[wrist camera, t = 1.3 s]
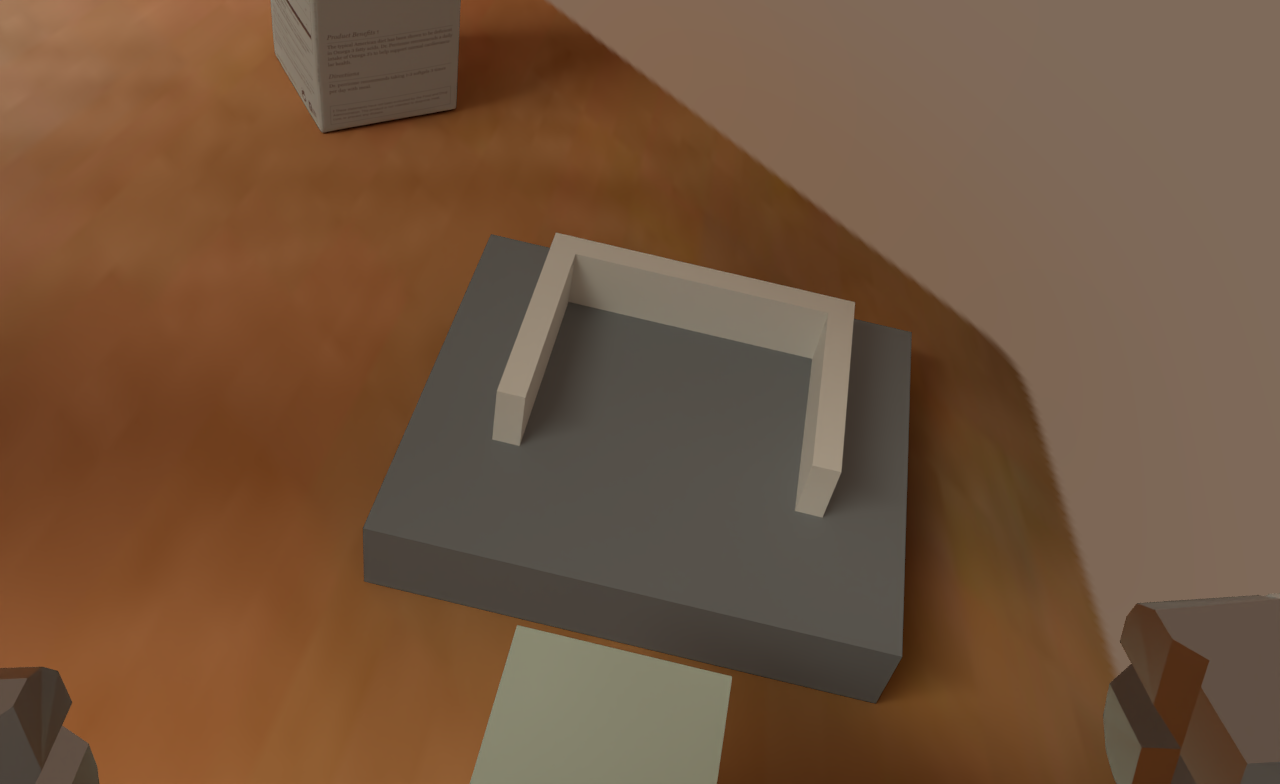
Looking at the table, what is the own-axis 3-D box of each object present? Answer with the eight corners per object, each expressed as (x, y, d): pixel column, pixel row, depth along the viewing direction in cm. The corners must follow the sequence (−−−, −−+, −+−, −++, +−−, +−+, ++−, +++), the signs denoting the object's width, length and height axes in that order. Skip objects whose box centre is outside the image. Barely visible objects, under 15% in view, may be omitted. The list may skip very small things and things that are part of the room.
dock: (364, 581, 42) (362, 479, 38) (486, 287, 53) (494, 186, 49) (875, 703, 42) (926, 613, 38) (890, 382, 53) (930, 287, 49)
